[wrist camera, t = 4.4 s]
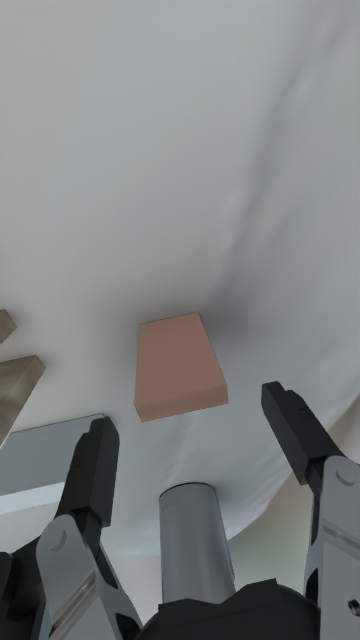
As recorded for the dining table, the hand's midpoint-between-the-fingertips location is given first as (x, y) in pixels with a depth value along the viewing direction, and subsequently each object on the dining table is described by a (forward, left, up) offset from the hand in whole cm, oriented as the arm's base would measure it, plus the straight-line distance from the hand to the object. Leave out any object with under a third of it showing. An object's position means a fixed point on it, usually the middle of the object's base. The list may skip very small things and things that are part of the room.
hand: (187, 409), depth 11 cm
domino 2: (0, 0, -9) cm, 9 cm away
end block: (-2, +18, -9) cm, 20 cm away
